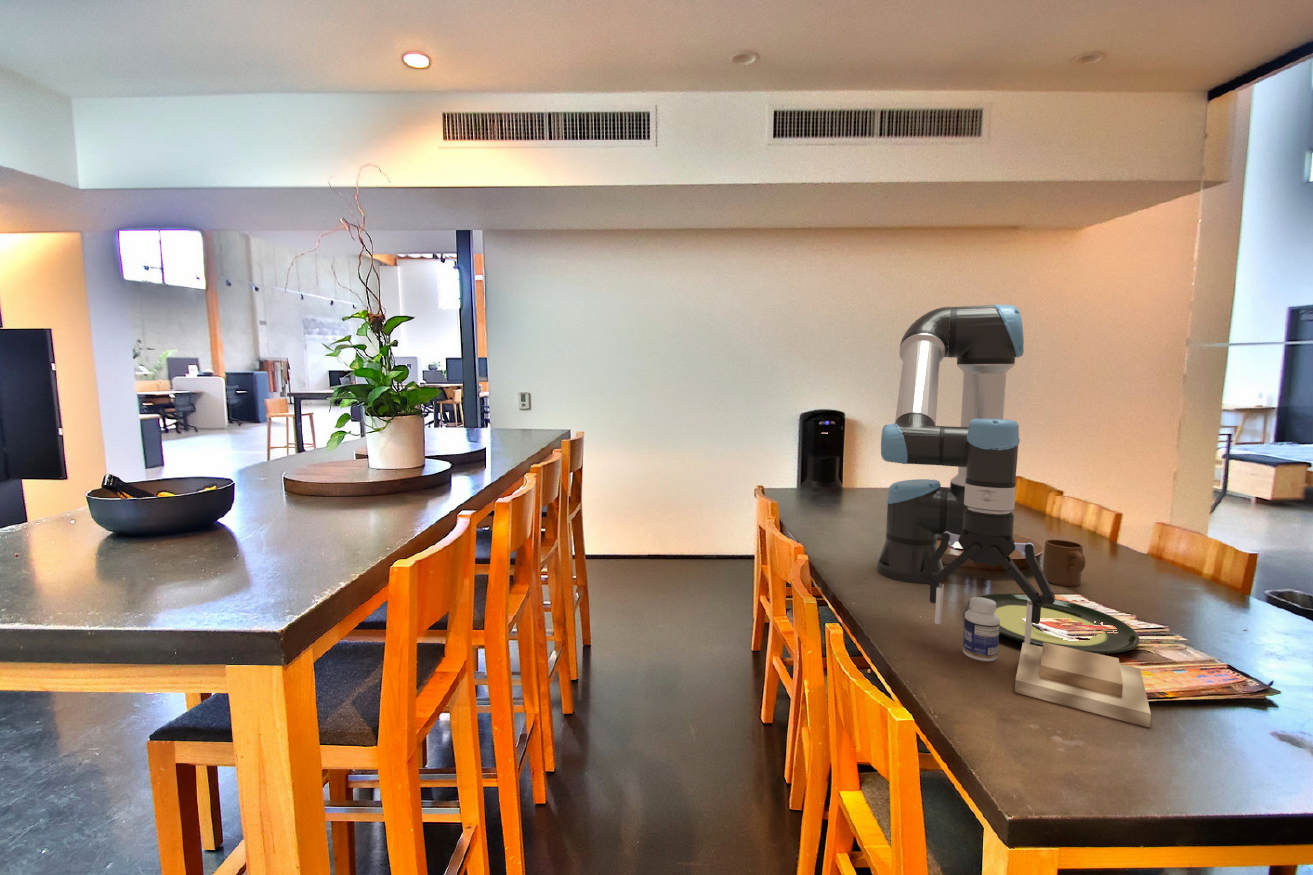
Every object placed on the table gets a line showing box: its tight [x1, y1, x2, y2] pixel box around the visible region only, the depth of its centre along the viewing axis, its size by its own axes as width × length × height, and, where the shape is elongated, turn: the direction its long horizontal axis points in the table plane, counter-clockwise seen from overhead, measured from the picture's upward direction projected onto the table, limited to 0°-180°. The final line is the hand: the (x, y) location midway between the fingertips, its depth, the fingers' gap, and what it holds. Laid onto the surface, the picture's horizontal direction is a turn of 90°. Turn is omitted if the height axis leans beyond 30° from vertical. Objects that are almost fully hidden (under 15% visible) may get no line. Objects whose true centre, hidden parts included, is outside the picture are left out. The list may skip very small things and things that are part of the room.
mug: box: [1042, 539, 1086, 587], centre depth 139 cm, size 12×8×9 cm, turn 172°
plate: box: [964, 593, 1141, 655], centre depth 114 cm, size 28×28×2 cm
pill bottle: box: [962, 596, 1000, 662], centre depth 103 cm, size 5×5×10 cm
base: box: [1014, 642, 1152, 729], centre depth 93 cm, size 16×16×4 cm
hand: (981, 630), depth 103 cm, fingers open, 13 cm apart
